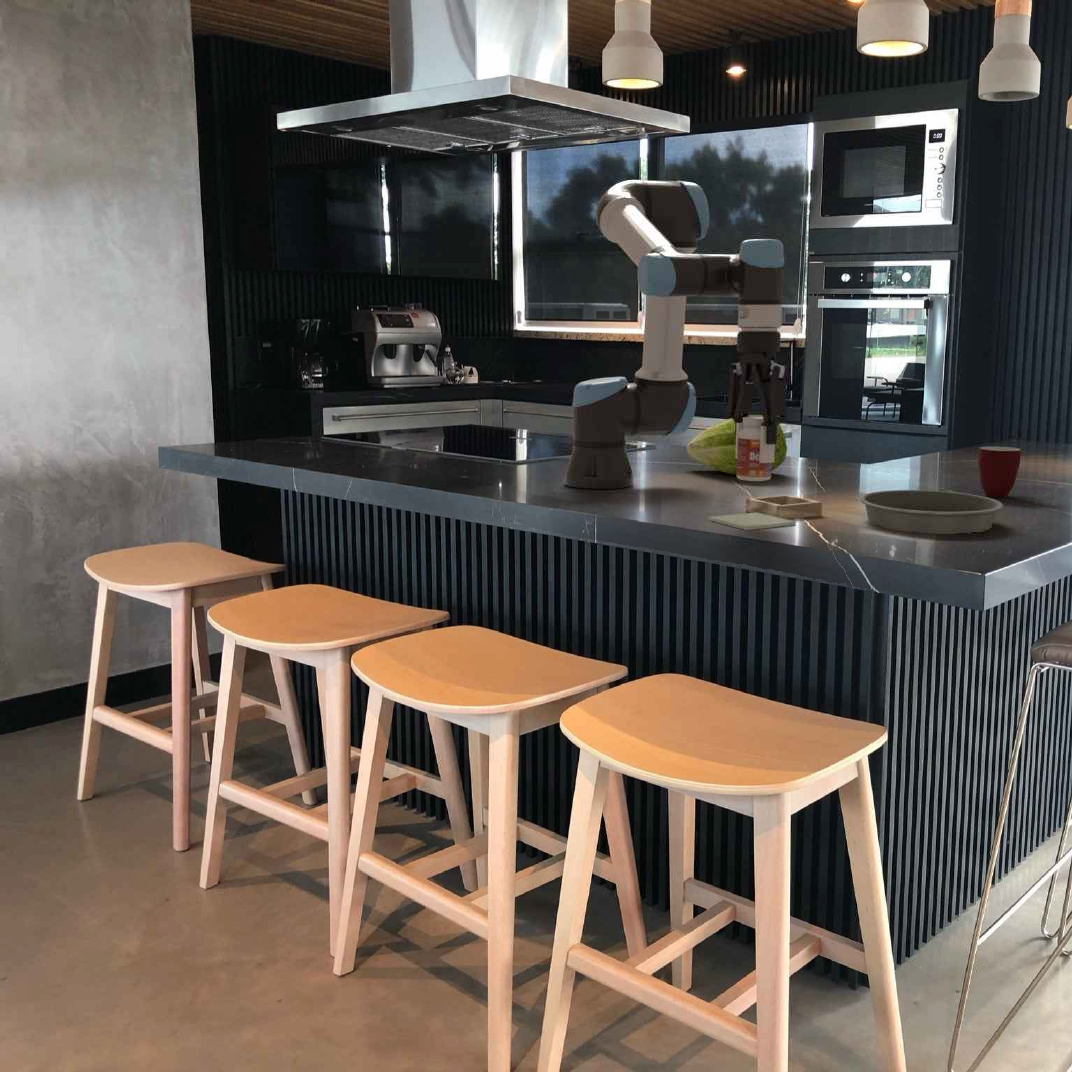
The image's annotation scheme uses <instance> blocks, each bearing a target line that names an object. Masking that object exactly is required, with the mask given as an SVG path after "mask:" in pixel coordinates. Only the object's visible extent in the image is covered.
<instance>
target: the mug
mask: <svg viewBox="0 0 1072 1072" xmlns="http://www.w3.org/2000/svg"><path fill="white" fill-rule="evenodd" d="M1021 454H1022V449H1020V448H1017V447H1010V446H980V447H979V448H978V457H977V459H978V460H977V461H978V463H977V464H978V471H979V472H978V473H979V480H980V481H979V482H980V485H981V487H982V488H981V489H982V490H983V492H984V494H985V497H987V498H992V499H1004V498H1007V497H1008V495H1009V494H1010V492H1011V491H1012V489H1013V487H1014V486H1015V483H1016V479H1017V475H1018V473H1019V468H1020V463H1021V456H1022V455H1021Z"/></svg>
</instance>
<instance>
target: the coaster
mask: <svg viewBox="0 0 1072 1072" xmlns="http://www.w3.org/2000/svg"><path fill="white" fill-rule="evenodd" d="M708 521H709V522H715V523H717V524H721V525H725V526H730V527H732V528H733V527H734V528H736V529H741V530H745V531H750V530H752V531H753V530H761V529H770V528H777V527H778V528H779V527H790V526H796V521H794V520H790V519H782V518H778V517H774V516H770V515H766V514H762V513H757V512H755V513H750V512H747V513H737V514H726V515H717V516H716V515H715V516H708Z"/></svg>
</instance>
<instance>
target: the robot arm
mask: <svg viewBox="0 0 1072 1072" xmlns="http://www.w3.org/2000/svg"><path fill="white" fill-rule="evenodd" d="M707 199H708V198H707V196H706V194H705V192H704V189H702V187H701V186H700V185H699V184H697V183H695V182H691V181H683V180H676V181H675V180H639V179H630V180H624V181H622V182H618V183H616V184H614V185H612V186H611V187H610V188H608V189H607V190H606V191H605V192H604V193H603V195H602V196H601V198H599V201H598V202H597V206H596V210H595V219H596V222H595V223H596V225H597V227H598V229H599V231H600V233H601V234H602V235H603V236H604V237H605V238H606V239H607V240H608V241H610V242H611V243H614V244H617V245H618V246H619V248H621V249H622V250H623V252H624V253H625V254H626V255H627V256H628V257H629V258H630V260H631V261H632V262H633V263H634V264H635V265H636V267H637V275H636V276H637V279H636V280H637V284H638V285H639V290H640V292H641V293H642V294H643V295H645V297H646V298H645V311H644V312H645V313H644V332H643V347H642V348H643V351H642V366H641V368H639V370H637V371H636V372H635V373H634V382H631V383H629V382H628V380H627V378H626V377H625V376H612V377H611V376H610V377H601V378H594V379H589V380H585V381H581V382H578V384H576V385H575V386H574V389H573V399H572V407H573V408H572V433H573V434H572V452H571V455H570V458H569V461H568V463H567V466H566V469H565V473H564V485H566V486H568V487H571V488H578V489H588V490H589V489H593V490H594V489H596V490H611V489H612V490H613V489H623V488H628V487H632V486H633V485H634V474H633V470H632V467H631V464H630V460H629V457H628V454H627V448H626V447H627V444H626V443H627V441H626V440H627V437H646V436H647V437H649V436H651V437H654V436H662V437H668V436H675V435H681V434H684V433H685V432H686V431H687V430H688V429H689V427H690V426H691V425H692V422H693V419H694V417H695V413H696V407H697V397H696V390H695V387H694V385H693V384H692V383H690V382H689V381H688V378H689V376H688V374H687V373H686V372H685V371H684V370H683V368H682V366H683V364H682V363H683V353H684V352H683V350H684V349H683V348H684V334H685V324H686V323H685V320H686V307H687V306H686V304H687V297H713V298H714V297H718V298H719V297H724V298H738V304H737V305H738V311H737V312H738V313H737V314H738V315H737V316H738V317H737V327H738V328H739V329H741V331H738V333H737V335H736V351H737V352H738V353H741V356H740V359H739V362H737V363H735V362H734V363H729V365H728V370H729V389H728V398H727V399H728V400H727V402H728V403H727V413H726V415H727V418H728V419H731V418H732V419H733V420H734V422H735V440H736V451H735V459H737V451H738V434H739V432H740V431H741V430H743V429H744V426H743V424H742V423H743V417H749V415H750V413H751V409H752V404H753V400H754V396H755V391H756V389H757V390H758V394H759V395H758V396H759V401H760V407H761V411H762V413H761V414H762V416H763V419H764V423H762V424H761V425H762V426H761V432H760V460H759V463H772V462H774V454H775V444H776V440H777V426H778V425H779V424H780V425H781V424H782V423H783V424H784V423H786V422H787V377H788V376H787V375H788V372H789V367H788V366H787V365H780V364H778V361H777V357H776V354H777V353H779V352H780V351H781V339H782V338H781V337H782V335H781V332H780V331H778V329H781V327H782V318H783V317H782V316H783V315H782V314H783V313H782V310H783V304H782V303H783V301H782V300H783V288H784V287H783V283H784V267H785V266H784V265H785V259H784V244H783V242H782V241H781V240H778V239H773V238H772V239H771V238H770V239H769V238H766V239H765V238H761V239H760V238H759V239H758V238H757V239H746V240H743V241H742V242H741V243H740V249H739V253H738V254H737V253H736V254H735V253H734V254H723V253H719V254H716V253H715V254H714V253H709V254H708V253H705V254H704V253H694V252H695V250H697V248H698V241H700V240H703V239H704V238H705V236H707V233H708V229H709V225H710V210H709V209H710V208H709V203H708V200H707Z"/></svg>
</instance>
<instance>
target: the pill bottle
mask: <svg viewBox="0 0 1072 1072" xmlns="http://www.w3.org/2000/svg"><path fill="white" fill-rule="evenodd" d="M762 423H764V419H763V417H743V423H742V424H743V426H744V429H743V430H741V431H740V432H739V434H738V451H737V475H736V478H737V479H739V480H741V481H749V482H751V481H752V482H761V481H762V482H763V481H768V480H771V478H772V471H773V470H772V463H759V460H760V432H761V426H762V425H761V424H762ZM771 470H772V471H771Z"/></svg>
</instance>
